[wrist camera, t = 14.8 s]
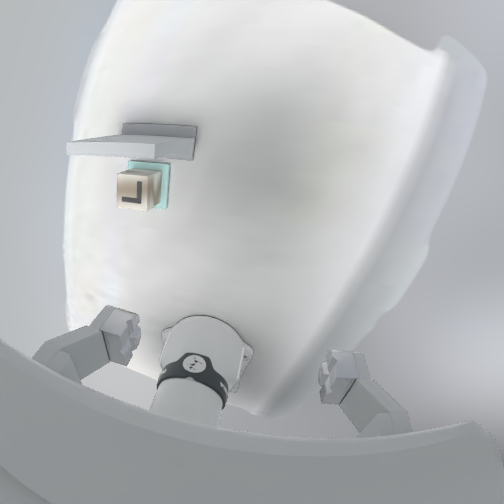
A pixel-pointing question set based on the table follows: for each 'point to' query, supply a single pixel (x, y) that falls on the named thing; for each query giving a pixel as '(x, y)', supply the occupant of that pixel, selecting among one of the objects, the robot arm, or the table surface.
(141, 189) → the letter cube
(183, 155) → the screen
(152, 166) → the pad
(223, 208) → the table surface
